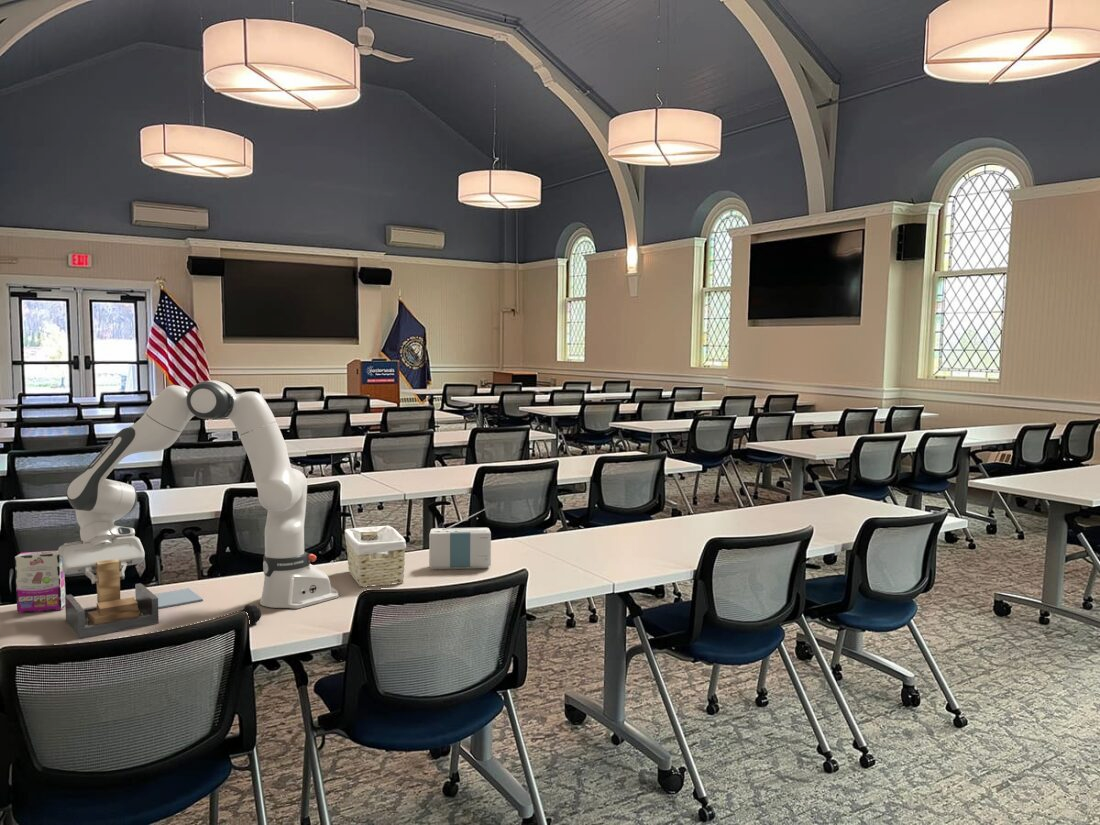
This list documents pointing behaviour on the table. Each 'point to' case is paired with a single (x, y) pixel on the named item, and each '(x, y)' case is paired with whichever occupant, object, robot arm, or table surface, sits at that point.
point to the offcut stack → (114, 611)
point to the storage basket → (376, 556)
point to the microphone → (252, 613)
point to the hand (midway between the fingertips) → (108, 580)
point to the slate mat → (177, 598)
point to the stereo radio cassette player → (459, 547)
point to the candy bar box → (39, 582)
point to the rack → (79, 614)
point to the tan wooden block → (108, 580)
